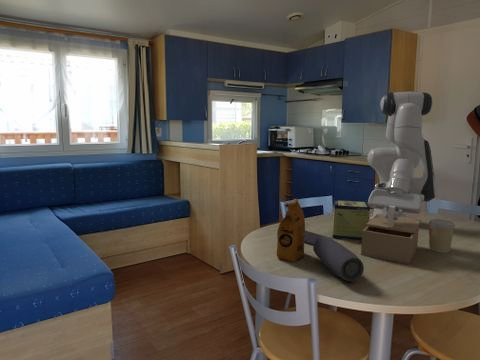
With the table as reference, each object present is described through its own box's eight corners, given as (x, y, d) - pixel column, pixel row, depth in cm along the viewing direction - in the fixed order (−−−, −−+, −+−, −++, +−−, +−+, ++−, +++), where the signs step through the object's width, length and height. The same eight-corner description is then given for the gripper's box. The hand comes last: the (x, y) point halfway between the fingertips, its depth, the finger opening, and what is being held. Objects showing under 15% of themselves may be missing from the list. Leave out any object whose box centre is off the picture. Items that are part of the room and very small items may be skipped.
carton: (372, 241, 170) (374, 219, 169) (416, 249, 161) (419, 226, 159) (360, 254, 153) (362, 230, 152) (409, 264, 144) (411, 238, 142)
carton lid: (377, 215, 173) (378, 196, 172) (420, 221, 164) (422, 201, 163) (366, 225, 157) (367, 204, 155) (414, 233, 147) (416, 210, 146)
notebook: (278, 236, 178) (315, 248, 162) (278, 232, 178) (315, 244, 162) (295, 230, 186) (333, 241, 171) (295, 227, 186) (333, 238, 170)
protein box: (368, 241, 171) (370, 206, 168) (332, 238, 174) (334, 204, 172) (365, 234, 181) (367, 201, 179) (331, 231, 184) (333, 199, 182)
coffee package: (272, 258, 148) (273, 202, 145) (284, 249, 159) (286, 196, 155) (296, 263, 143) (298, 205, 140) (307, 253, 154) (310, 199, 150)
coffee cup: (431, 244, 167) (434, 217, 166) (455, 249, 161) (458, 222, 159) (423, 249, 161) (426, 221, 159) (447, 255, 154) (450, 226, 152)
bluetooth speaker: (364, 284, 126) (366, 255, 125) (338, 286, 125) (340, 256, 123) (333, 259, 148) (335, 234, 147) (311, 260, 146) (312, 235, 145)
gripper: (425, 198, 156) (419, 226, 149) (373, 192, 167) (366, 219, 160) (424, 188, 151) (419, 218, 145) (371, 183, 162) (364, 210, 156)
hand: (391, 218), depth 152 cm, fingers closed on carton lid, 2 cm apart
